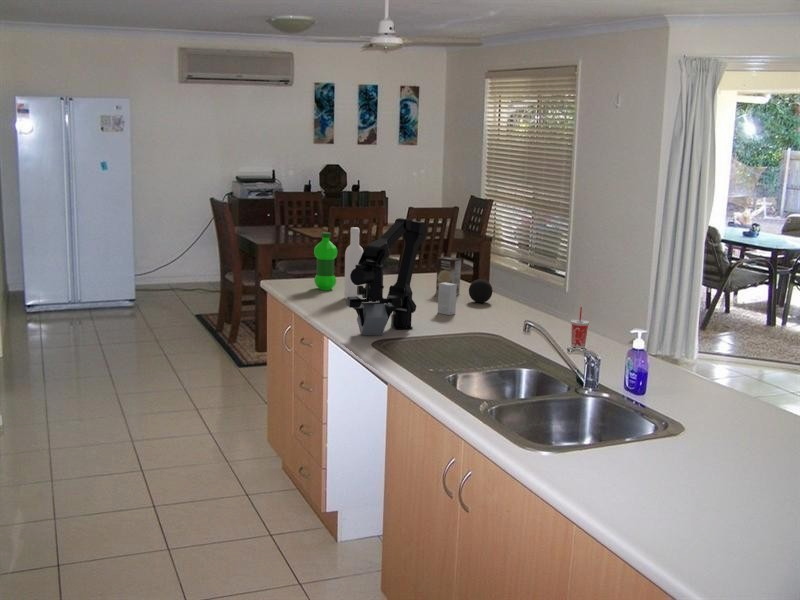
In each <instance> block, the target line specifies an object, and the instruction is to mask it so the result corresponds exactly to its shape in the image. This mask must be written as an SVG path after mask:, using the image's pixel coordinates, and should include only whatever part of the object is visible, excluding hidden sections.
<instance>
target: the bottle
mask: <svg viewBox="0 0 800 600" xmlns="http://www.w3.org/2000/svg"><path fill="white" fill-rule="evenodd" d="M360 233H361V231H360V228H359V227H356V226H355V227H354V226H352V227H350V243H349V244H350V245H348V246H346V249H345V252H344V253H345V254H344V291H343V296H344V299H345V300H346V299H347V297H356V296H357V297H359V298H360V299H364V298H362V295H357V286H363V287H364V284H362V285H355V284H353V282H352V281H351V278H350V274H351V272H352V270H353V269H355V267H356V265H358V263H359V260H360V258H361V256H362V254H363V251H364V249H363V247H362V246H361V245H360Z"/></svg>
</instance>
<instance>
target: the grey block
mask: <svg viewBox="0 0 800 600" xmlns="http://www.w3.org/2000/svg"><path fill="white" fill-rule="evenodd" d="M362 308H363V321H364V323H363V326H361V323H360V320H359V317H358V316H357V318H356V322H357V324H358V329H359V333H360V335H361V336H383V334H384V331H385V329H386V326H387V324H388V322H387V320H388V321H389V319H388V315H387V311H386V308H385V305H384V304H362ZM386 323H387V324H386Z"/></svg>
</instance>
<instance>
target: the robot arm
mask: <svg viewBox="0 0 800 600" xmlns="http://www.w3.org/2000/svg"><path fill="white" fill-rule="evenodd" d="M427 233H428V226H427V224H426V223H425V222H424V221H419V220H418V221H415V220H410V219H409V218H404V217H403V218H402V217H400V218H399V217H398V218H396V219H395V221H394V223H393V224H392V225H391V226H390V227H389V228H388V229H387V231H385V232H384V233H383V234H382V236H380V238H378V239H376V240H373V241H371V242H370V243H368V244H367V245H366V246H365V247H364V249H363V254H362V256H361V258H360V260H359V263H358V265H356V267H355V269H353V270H352V272H351V274H350V278H351V281H352V282H353V284H355V285H362V284H363V286H357V295H362V298H363V299H360V298H359V297H357V296H356V297H347V299H345V305H346V306H348V307H349V309H350V308H352V309H353V310H355V312H356V313H357V317H359V320H360V323H361V326H363V323H364V321H363V308H362V304H384V305H385V308H386V311H387V315H388V320H387V323H386V325H387V324H388V321H389V319H391V320H390V326H391V327H392V328H393V329H395V330H412V329H413V328H414V327H413V326H412V319H413V318H412V315H413V314H414V312H416V310H417V305H416V303H415V301H414V300H413V291H412V288H411V282H412V277H413V274H414V273H413V272H414V269H415V263H416V260H417V254H418V250H419V247H420V245H422V243H423V242H424V241H425V239H426V235H427ZM401 237H402V239H403V242H404V245H403V246H404V247H403V251H402V257H401V260H400V264H399V268H398V269H399V271H398V274H397V279H396V282H395V283H394V284H393V285H390V286H389V289H388V294H387V296H386V297H383V294H384V288H385V285H384V268H385V269H386V268H387V267H388V265H387V264H386V263H385V261H386V260H387V258H388V257H389V255H390V249H391V248H392V247H393V246H394V245H395V244H396V243H397V241H398V240H399V239H400V238H401ZM364 285H365V287H364ZM390 317H391V318H390Z"/></svg>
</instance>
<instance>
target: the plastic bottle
mask: <svg viewBox="0 0 800 600" xmlns="http://www.w3.org/2000/svg"><path fill="white" fill-rule="evenodd" d="M320 238H322V240H321V241H320V242H319V243H317V244H316V245H315V246H314V250H313V251H314V252H313V253H314V257H315V259H316V275H315V276H314V281H313V282H314V283H315V285H316V287H317V288H318V289H319V290H320V291H321V290H322V291H329V290H332V289H333V288H334V287H335V286H336V284H337V278H336V276H335V259H336V258H337V257H338V251H339V250H338V248H337V247H336V245H335V244H333V242H331V241H330V238H332V233H331V232H328V231H327V232H325V231H324V232H321V233H320Z"/></svg>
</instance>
